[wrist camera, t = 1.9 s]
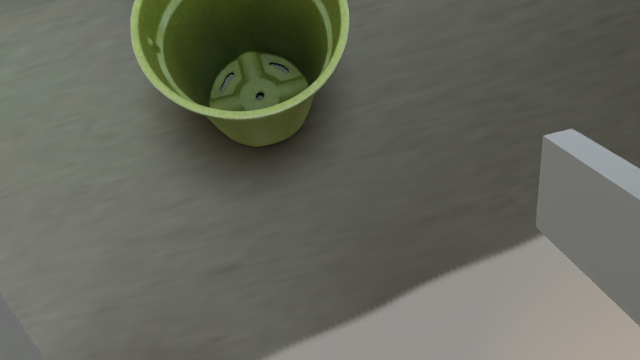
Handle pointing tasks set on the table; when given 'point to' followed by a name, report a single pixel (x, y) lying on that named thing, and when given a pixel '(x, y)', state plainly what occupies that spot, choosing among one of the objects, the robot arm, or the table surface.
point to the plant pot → (241, 59)
